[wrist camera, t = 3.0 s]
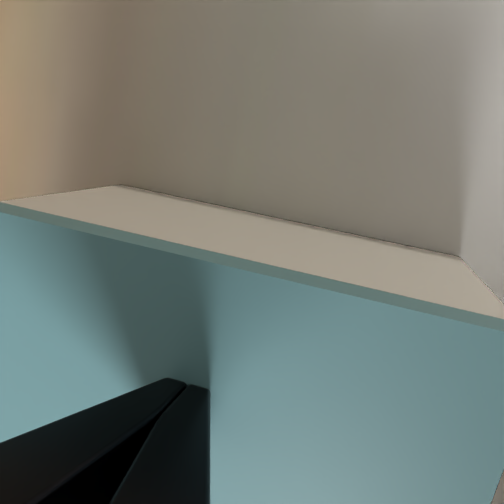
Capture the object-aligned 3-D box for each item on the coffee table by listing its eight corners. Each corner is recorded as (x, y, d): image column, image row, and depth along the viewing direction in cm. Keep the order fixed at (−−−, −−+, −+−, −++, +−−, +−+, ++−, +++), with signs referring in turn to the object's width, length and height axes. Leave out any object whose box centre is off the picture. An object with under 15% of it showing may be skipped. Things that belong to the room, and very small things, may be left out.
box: (459, 256, 12) (521, 323, 8) (357, 600, 15) (355, 802, 11) (120, 184, 14) (-2, 201, 9) (87, 504, 17) (-18, 640, 12)
